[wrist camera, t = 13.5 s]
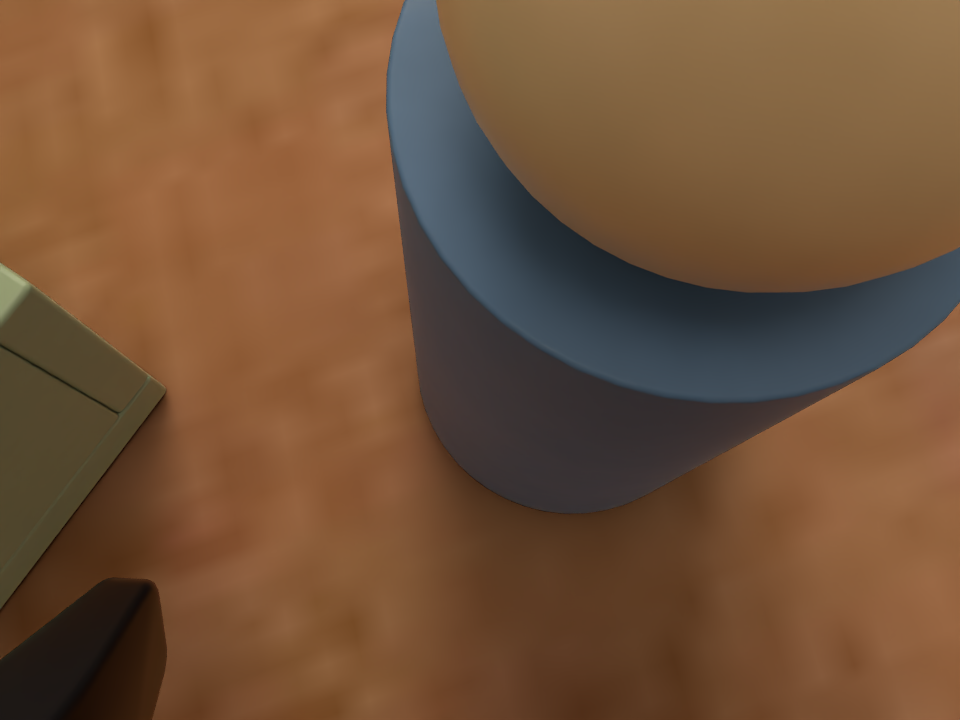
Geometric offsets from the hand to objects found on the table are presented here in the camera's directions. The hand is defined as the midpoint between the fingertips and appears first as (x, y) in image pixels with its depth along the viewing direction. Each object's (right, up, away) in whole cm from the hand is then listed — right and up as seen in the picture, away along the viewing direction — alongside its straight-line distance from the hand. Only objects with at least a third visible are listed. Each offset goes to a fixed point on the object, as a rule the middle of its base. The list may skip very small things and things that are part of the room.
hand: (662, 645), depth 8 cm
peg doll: (0, +3, +8) cm, 9 cm away
